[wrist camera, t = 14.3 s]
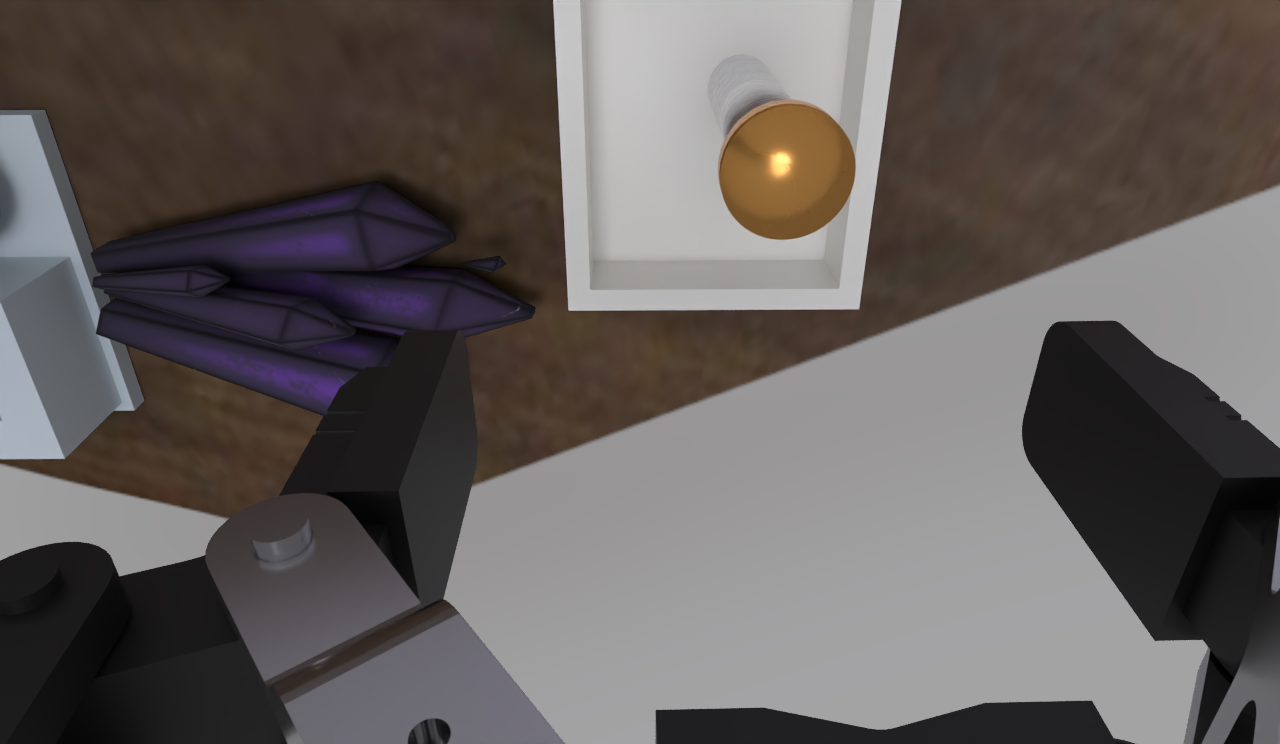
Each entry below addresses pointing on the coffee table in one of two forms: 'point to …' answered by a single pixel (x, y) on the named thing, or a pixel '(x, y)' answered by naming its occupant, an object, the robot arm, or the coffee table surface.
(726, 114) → the lock pin
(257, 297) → the crystal
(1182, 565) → the robot arm
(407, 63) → the coffee table surface
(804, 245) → the tray
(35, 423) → the tensioner bracket
